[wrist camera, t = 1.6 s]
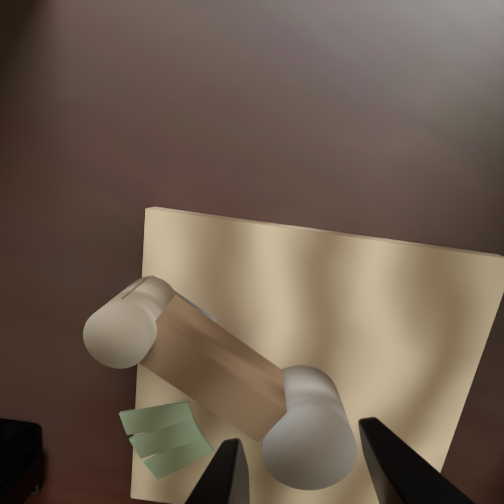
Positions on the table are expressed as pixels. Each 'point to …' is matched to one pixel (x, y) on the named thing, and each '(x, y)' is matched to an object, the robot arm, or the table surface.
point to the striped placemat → (314, 340)
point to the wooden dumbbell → (229, 381)
